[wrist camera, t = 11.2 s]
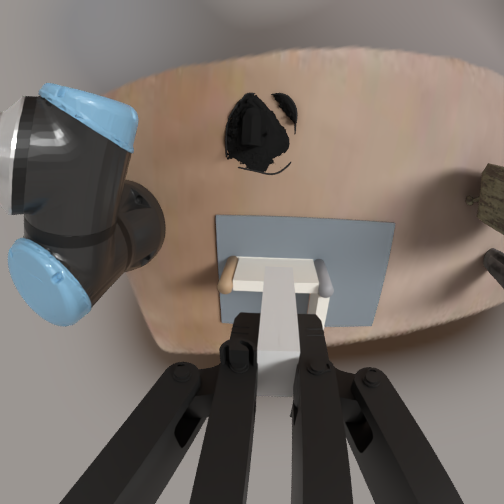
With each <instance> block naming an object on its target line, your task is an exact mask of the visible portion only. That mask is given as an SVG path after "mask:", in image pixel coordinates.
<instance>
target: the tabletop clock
mask: <svg viewBox="0 0 504 504" xmlns="http://www.w3.org/2000/svg"><path fill="white" fill-rule="evenodd" d="M473 202H479V206H478V213H477V217H478V218H479V219H480V220H481V221H482V222H484V223H485V224H487V225H488V226H490V227H492V228H493V229H495V230H496V231H498V232H500V233H502V234H503V235H504V167H502V166H498V165H494V164H489V163H488V164H487V166H486V168H485V169H484V171H483V172H482V179H481V189H480V197H478V198H474V199H473V198H472V197H471V196H468V197H467V198H466V203H467V204H468V205H472V204H473Z"/></svg>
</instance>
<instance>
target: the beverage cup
mask: <svg viewBox="0 0 504 504" xmlns="http://www.w3.org/2000/svg"><path fill="white" fill-rule="evenodd" d="M484 267H485V268H486V269H487V270H488V272H489V273H490V274H491V275H492V276H493V277H494V278H495V279H496V280H497V282H498V283H499V284H500V285H501V286H502V287H503V289H504V253H502V252H501V251H498V250H496V249H494V248H492V249H490V250H489V251H488V252H487V253H486V255H485V257H484Z"/></svg>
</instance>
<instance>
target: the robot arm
mask: <svg viewBox="0 0 504 504" xmlns="http://www.w3.org/2000/svg"><path fill="white" fill-rule="evenodd" d="M39 95H40V96H38V97H32V96H23V97H21V98H20V99H19V100H18V101H17V102H16V103H14V104H13V105H12V106H11V107H10V108H9V109H7V110H6V111H4V112H0V206H1V207H2V208H3V209H4V210H5V211H6V213H7V214H8V215H17V214H24V236H23V238H20V239H18V240H16V241H15V243H14V244H13V246H12V247H11V248H10V250H9V253H8V267H9V271H10V274H11V277H12V280H13V282H14V284H15V286H16V288H17V290H18V292H19V293H20V295H21V296H22V298H23V299H24V300H25V302H26V303H27V304H28V305H29V306H30V308H32V310H33V311H35V312H36V313H37V314H38V315H39V316H41V317H42V318H43V319H45V320H46V321H48V322H50V323H52V324H55V325H58V326H69V325H73V324H75V323H77V322H78V321H79V320H80V319H81V318H82V317H84V316H85V315H86V314H88V313H89V312H90V310H91V308H92V307H93V305H94V304H95V303H96V302H97V301H98V300H99V299H100V298H101V296H102V295H103V294H104V293H105V292H106V291H107V290H108V289H109V288H110V287H111V286H112V285H113V284H114V282H115V281H116V280H117V279H118V278H119V277H120V276H121V275H122V274H123V273H124V272H127V271H130V270H134V269H137V268H140V267H142V266H144V265H146V264H147V263H148V262H150V261H151V260H152V259H153V258H154V256H155V255H156V254H157V253H158V252H159V250H160V249H161V247H162V244H163V242H164V238H165V220H164V215H163V212H162V209H161V207H160V205H159V203H158V201H157V200H156V198H155V197H154V196H153V195H152V194H151V192H149V191H148V190H147V189H146V188H145V187H143V186H142V185H140V184H138V183H136V182H133V181H129V180H125V178H126V174H127V169H128V165H129V161H130V158H131V154H132V153H133V152H134V148H133V143H134V139H135V135H136V130H137V126H138V115H137V112H136V111H135V110H134V108H132V107H131V106H129V105H127V104H124V103H121V102H118V101H115V100H112V99H109V98H106V97H103V96H99V95H96V94H92V93H89V92H85V91H81V90H77V89H73V88H69V87H65V86H60V85H56V84H51V83H46V84H44V85H43V86H42V88H41V89H40V90H39ZM219 351H220V361H221V363H220V364H219V365H217V366H215V367H212V368H206V369H198V368H197V367H196V366H195V365H193V364H191V363H187V362H178V363H175V364H173V365H171V366H169V367H168V368H167V369H166V370H165V372H164V373H163V374H162V375H161V377H160V378H159V379H158V381H157V382H156V383H155V384H154V386H153V387H152V388H151V390H150V391H149V392H148V393H147V394H146V396H145V397H144V398H143V400H142V401H141V402H140V403H139V405H138V406H137V407H136V408H135V410H134V411H133V412H132V413H131V415H130V416H129V417H128V419H127V420H126V421H125V422H124V424H123V425H122V426H121V427H120V428H119V430H118V431H117V432H116V433H115V435H114V436H113V437H112V438H111V440H110V441H109V442H108V444H107V445H106V446H105V447H104V449H103V450H102V451H101V452H100V454H99V455H98V456H97V457H96V459H95V460H94V461H93V462H92V464H91V465H90V466H89V467H88V469H87V470H86V471H85V472H84V474H83V475H82V476H81V477H80V478H79V480H78V481H77V482H76V484H75V485H74V486H73V487H72V488H71V490H70V491H69V492H68V494H67V495H66V496H65V497H64V498H63V500H62V501H61V502H60V503H59V504H155V503H156V501H157V499H158V498H159V496H160V495H161V493H162V492H163V490H164V488H165V487H166V485H167V484H168V482H169V480H170V479H171V477H172V476H173V474H174V472H175V471H176V469H177V467H178V466H179V464H180V462H181V461H182V459H183V457H184V455H185V454H186V452H187V450H188V449H189V447H190V446H191V444H192V442H193V441H194V439H195V437H196V435H197V434H198V432H199V430H200V429H201V427H202V425H203V423H204V422H205V420H206V418H207V417H209V419H208V424H207V427H206V432H205V436H204V441H203V445H202V450H201V454H200V459H199V463H198V467H197V472H196V476H195V481H194V485H193V490H192V494H191V499H190V504H246V500H247V491H248V482H249V472H250V462H251V452H252V443H253V433H254V422H255V412H256V396H275V397H276V396H277V397H292V396H293V405H292V410H291V415H290V417H292V487H291V488H292V490H291V504H353V497H352V487H351V476H350V468H349V459H348V450H347V443H346V438H347V440H348V443H349V445H350V447H351V449H352V451H353V454H354V456H355V458H356V461H357V463H358V465H359V467H360V470H361V472H362V474H363V477H364V479H365V481H366V484H367V486H368V488H369V490H370V492H371V495H372V497H373V500H374V502H375V504H464V503H463V501H462V499H461V498H460V496H459V494H458V492H457V490H456V489H455V487H454V485H453V483H452V481H451V479H450V478H449V476H448V474H447V472H446V471H445V469H444V467H443V466H442V464H441V462H440V461H439V459H438V457H437V455H436V454H435V452H434V450H433V449H432V447H431V445H430V444H429V442H428V440H427V439H426V437H425V436H424V434H423V432H422V431H421V429H420V427H419V426H418V424H417V423H416V421H415V419H414V418H413V416H412V415H411V413H410V412H409V410H408V408H407V407H406V405H405V404H404V402H403V401H402V399H401V398H400V396H399V394H398V393H397V391H396V390H395V388H394V387H393V385H392V384H391V382H390V381H389V379H388V378H387V376H386V375H385V374H384V373H383V372H382V371H380V370H379V369H376V368H371V367H367V368H363V369H360V370H359V371H358V372H357V373H356V374H352V373H347V372H344V371H340V370H338V369H337V368H335V367H334V366H333V364H332V363H331V362H330V361H329V358H328V352H327V347H326V342H325V336H324V331H323V326H322V321H321V320H320V319H319V317H318V316H317V315H316V314H297V308H296V297H295V287H294V277H293V268H292V267H270V266H265V273H264V284H263V295H262V306H261V313H247V312H240V313H239V314H238V315H237V316H236V317H235V318H234V323H233V327H232V331H231V336H230V340H227V341H226V342H224V343H223V344H222V345H221V347H220V349H219Z"/></svg>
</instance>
